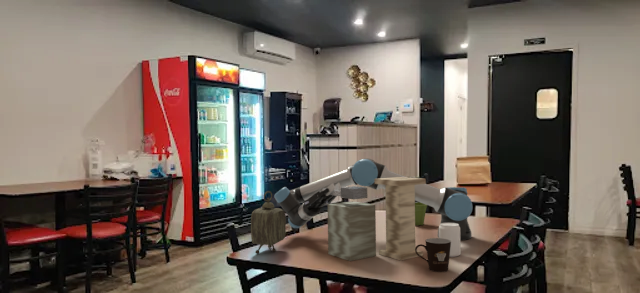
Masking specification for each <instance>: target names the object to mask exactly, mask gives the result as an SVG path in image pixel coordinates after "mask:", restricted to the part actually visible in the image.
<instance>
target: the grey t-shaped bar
mask: <svg viewBox="0 0 640 293" xmlns="http://www.w3.org/2000/svg"><path fill="white" fill-rule="evenodd" d="M324 190H325V189H322V191H324ZM329 195H334V196H337V197H340V198H341V199H342V198H343V199H347V200H362V199H363V200H364V199H368V187H366V186H357V185H353V186H346V187H341V190H334V191H333V192H332V193H330V194H329Z"/></svg>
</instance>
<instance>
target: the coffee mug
mask: <svg viewBox="0 0 640 293" xmlns="http://www.w3.org/2000/svg"><path fill="white" fill-rule="evenodd" d="M420 247H423V248H424V249H425V251H426V255H427V259H426V258H425V257H423V256H420V255H419V254H418V253H417V250H418V248H420ZM450 247H451V240H448V239H443V238H439V237H433V238H432V237H430V238H426V239H425V245H424V244H422V243H421V244H418V245H415V252H416V254H417V255H418V256H419V258H421V259H422V260H424V261H425V262H427V265H428V269H429V271H431V272H435V273H446V272H448V271H449V266H450V257H449V256H450Z"/></svg>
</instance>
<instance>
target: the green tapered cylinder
mask: <svg viewBox="0 0 640 293" xmlns="http://www.w3.org/2000/svg"><path fill="white" fill-rule="evenodd" d="M427 208H428V205H426V204H423V203H420V202H415V226H416V227H417V226H423V225H425V218H426V211H427Z"/></svg>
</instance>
